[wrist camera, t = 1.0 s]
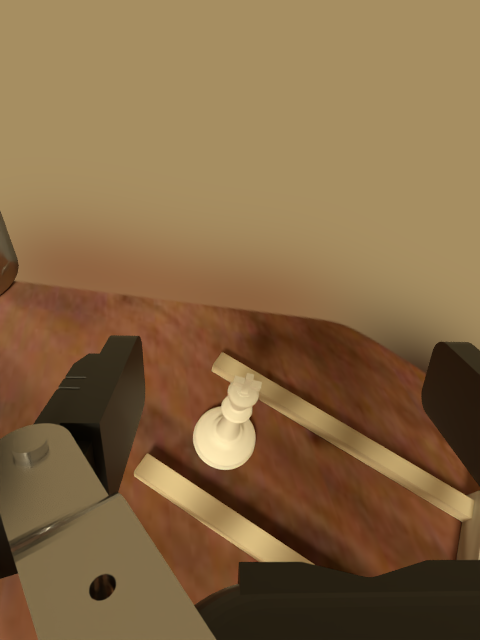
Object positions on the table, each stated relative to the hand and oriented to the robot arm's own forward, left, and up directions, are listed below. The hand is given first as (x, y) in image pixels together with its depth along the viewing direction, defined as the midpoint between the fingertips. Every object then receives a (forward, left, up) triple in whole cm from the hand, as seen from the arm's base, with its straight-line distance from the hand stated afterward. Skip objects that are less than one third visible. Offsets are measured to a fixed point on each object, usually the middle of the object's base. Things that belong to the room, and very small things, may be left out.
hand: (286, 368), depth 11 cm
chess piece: (-2, +6, -21) cm, 22 cm away
